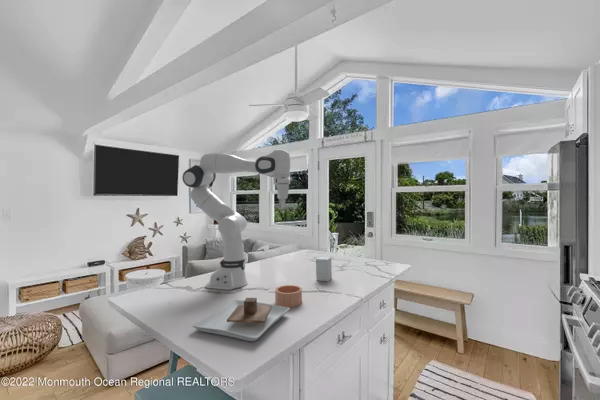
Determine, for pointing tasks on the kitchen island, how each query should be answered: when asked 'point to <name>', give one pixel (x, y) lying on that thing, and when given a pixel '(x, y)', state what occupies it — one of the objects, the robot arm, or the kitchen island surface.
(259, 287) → the kitchen island surface
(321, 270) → the supplement box
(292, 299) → the terracotta bowl
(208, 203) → the robot arm
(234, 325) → the square plate
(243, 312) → the walnut lid
